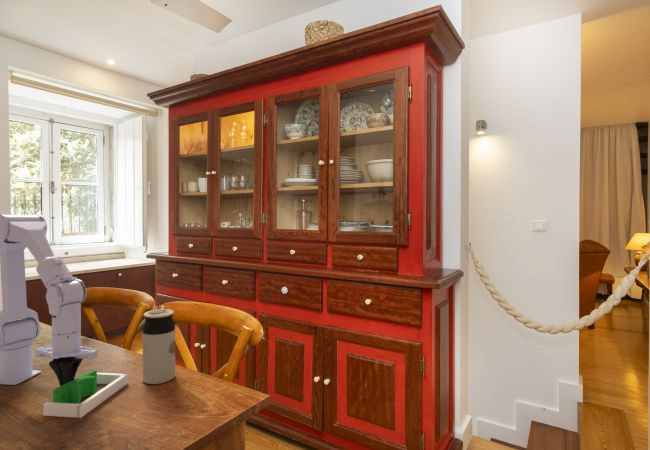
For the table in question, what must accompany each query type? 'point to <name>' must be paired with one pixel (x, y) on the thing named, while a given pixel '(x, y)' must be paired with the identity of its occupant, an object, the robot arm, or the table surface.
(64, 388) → the pipe clamp
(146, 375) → the travel mug
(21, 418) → the table surface
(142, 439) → the table surface
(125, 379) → the white u-shaped frame
